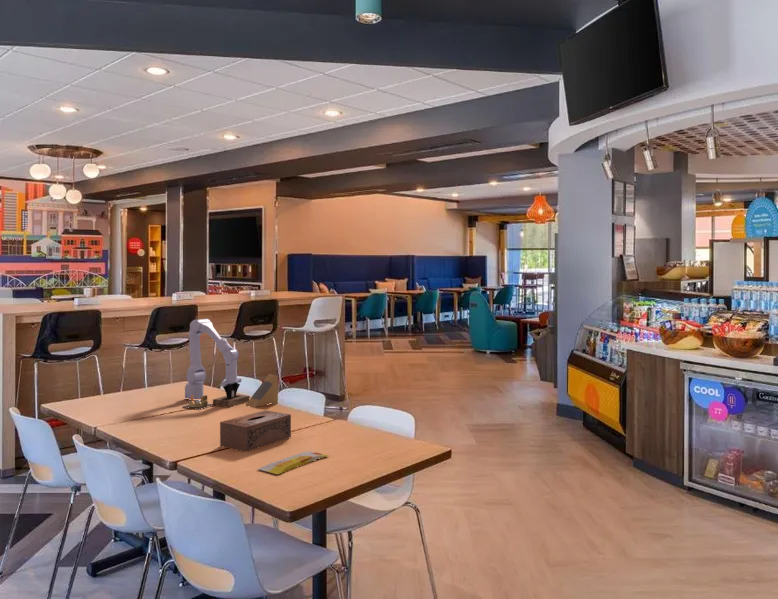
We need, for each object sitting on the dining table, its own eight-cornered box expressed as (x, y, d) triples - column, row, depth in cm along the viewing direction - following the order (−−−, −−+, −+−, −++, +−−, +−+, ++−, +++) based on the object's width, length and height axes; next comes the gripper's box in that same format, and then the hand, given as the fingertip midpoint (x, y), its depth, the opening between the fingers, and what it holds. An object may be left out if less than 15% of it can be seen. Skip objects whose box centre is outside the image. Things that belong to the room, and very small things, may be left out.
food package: (277, 471, 212) (256, 465, 217) (277, 477, 212) (256, 472, 218) (329, 452, 234) (309, 448, 240) (329, 458, 234) (309, 453, 240)
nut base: (181, 407, 317) (181, 397, 316) (196, 403, 327) (196, 394, 326) (199, 409, 312) (199, 399, 312) (213, 405, 322) (213, 396, 322)
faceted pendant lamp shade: (185, 405, 317) (185, 398, 317) (199, 402, 326) (199, 394, 326) (199, 407, 313) (199, 399, 313) (212, 403, 323) (212, 396, 322)
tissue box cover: (246, 452, 240) (246, 427, 239) (220, 446, 248) (220, 422, 247) (290, 437, 261) (290, 414, 261) (265, 432, 269) (265, 410, 269)
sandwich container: (244, 405, 323) (243, 377, 322) (268, 401, 334) (268, 373, 333) (253, 408, 317) (253, 379, 316) (278, 403, 328) (278, 375, 327)
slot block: (212, 405, 323) (212, 399, 323) (232, 399, 337) (232, 394, 337) (230, 407, 318) (229, 401, 318) (249, 401, 333) (249, 395, 333)
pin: (227, 401, 327) (227, 390, 327) (230, 400, 330) (230, 389, 329) (232, 402, 326) (231, 391, 325) (235, 401, 329) (235, 390, 328)
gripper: (228, 374, 319) (228, 401, 319) (245, 370, 332) (246, 396, 333) (217, 373, 322) (217, 399, 322) (235, 369, 335) (235, 394, 335)
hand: (231, 397), depth 328 cm, fingers closed on pin, 3 cm apart
